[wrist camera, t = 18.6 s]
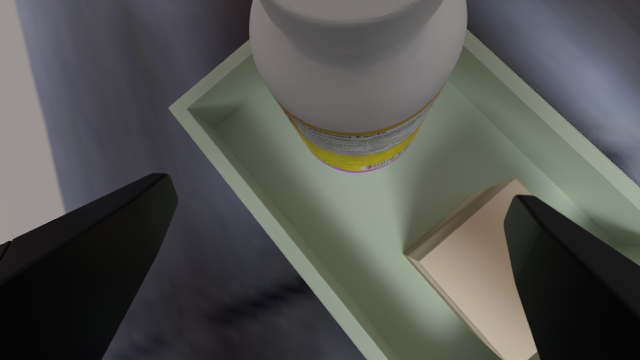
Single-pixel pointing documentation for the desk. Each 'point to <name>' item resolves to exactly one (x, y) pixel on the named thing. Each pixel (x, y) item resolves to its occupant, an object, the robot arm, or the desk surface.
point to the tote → (402, 192)
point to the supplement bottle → (356, 71)
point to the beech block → (478, 270)
